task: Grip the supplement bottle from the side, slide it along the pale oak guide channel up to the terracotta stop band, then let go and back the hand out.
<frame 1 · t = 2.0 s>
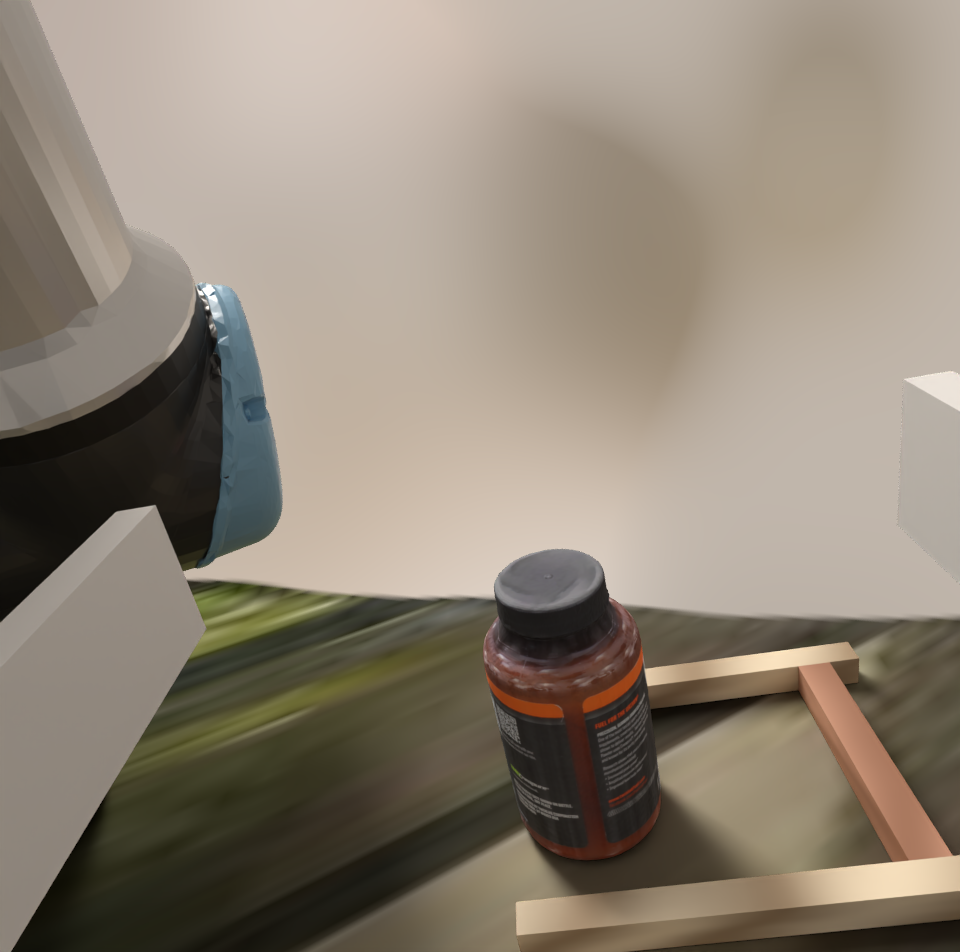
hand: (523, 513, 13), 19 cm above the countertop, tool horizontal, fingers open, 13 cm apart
guide channel: (711, 789, 30), on the countertop
supplement bottle: (590, 808, 31), on the countertop
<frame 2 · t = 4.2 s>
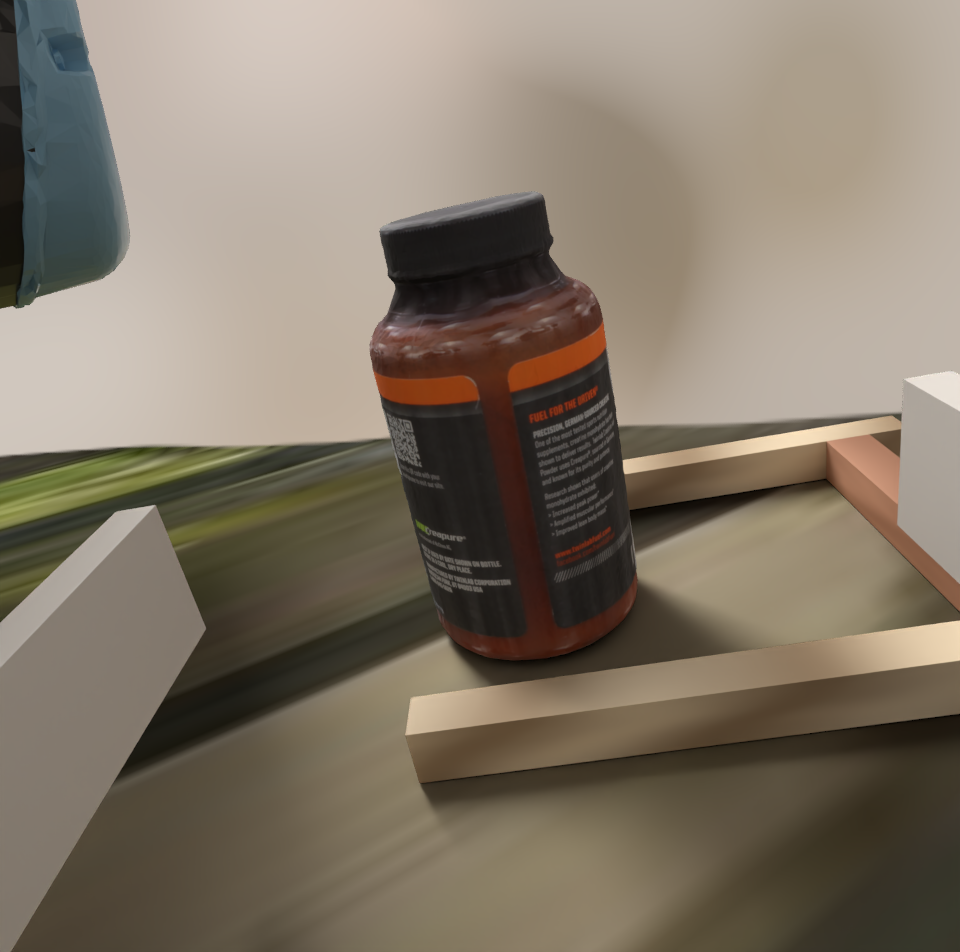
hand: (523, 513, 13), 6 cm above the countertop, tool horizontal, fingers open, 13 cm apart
guide channel: (709, 579, 21), on the countertop
supplement bottle: (539, 611, 22), on the countertop
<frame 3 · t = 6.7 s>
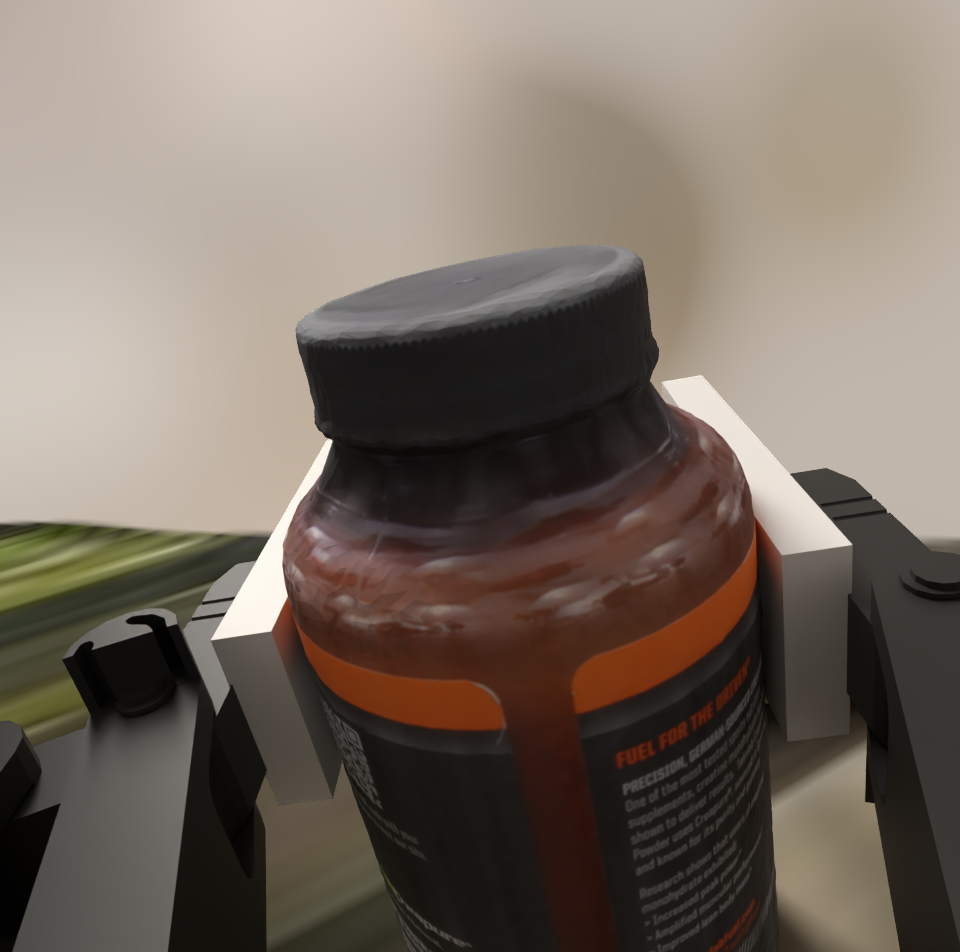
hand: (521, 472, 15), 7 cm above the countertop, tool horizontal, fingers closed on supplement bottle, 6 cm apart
supplement bottle: (594, 945, 13), on the countertop, touching gripper
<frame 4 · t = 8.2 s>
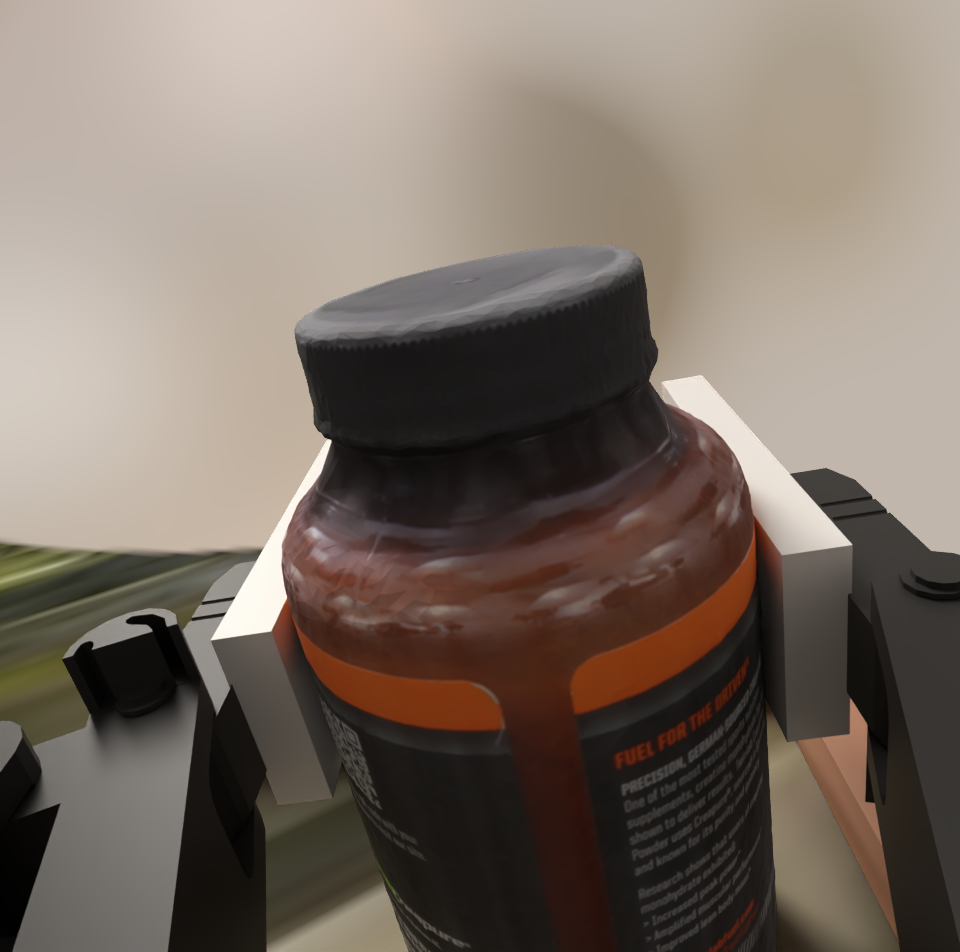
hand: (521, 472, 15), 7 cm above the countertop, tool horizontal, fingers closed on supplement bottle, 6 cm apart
guide channel: (564, 927, 13), on the countertop
supplement bottle: (594, 946, 13), on the countertop, touching gripper
when the fingers open (7 cm above the countertop, at t = 9.6 s): supplement bottle stays where it is, on the countertop.
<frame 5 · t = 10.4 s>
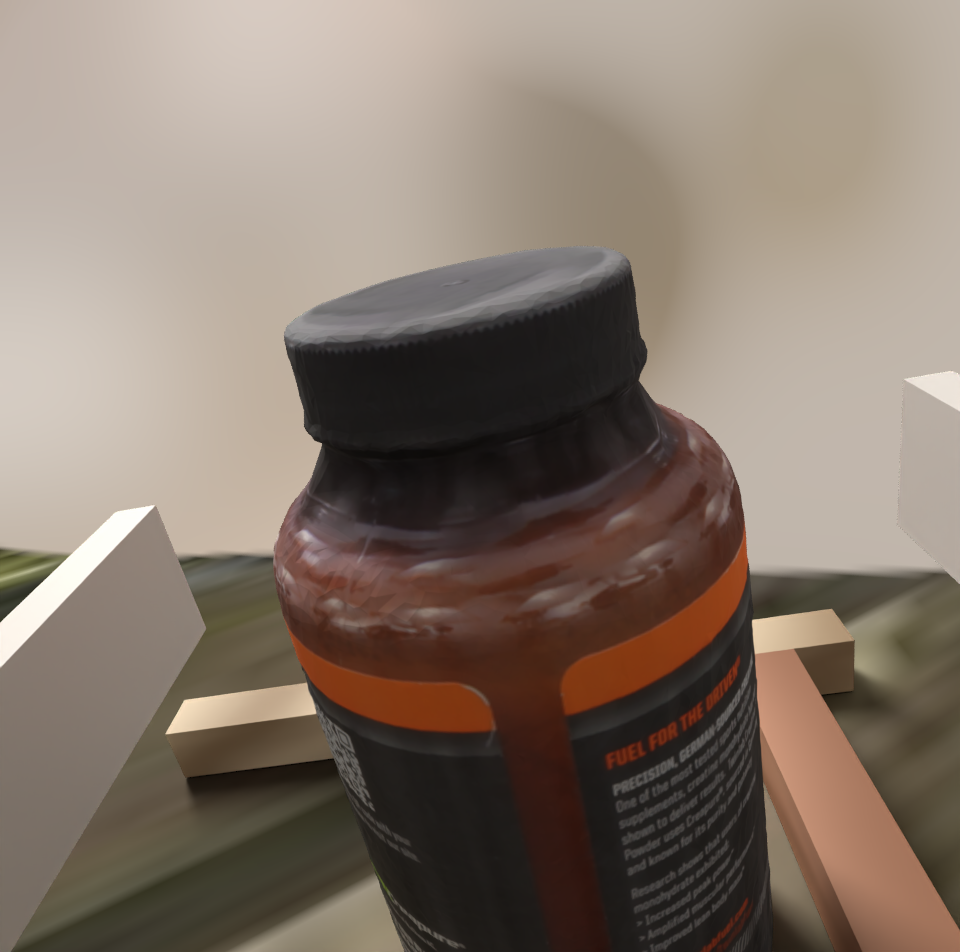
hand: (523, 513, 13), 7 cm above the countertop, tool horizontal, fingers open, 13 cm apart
guide channel: (507, 945, 13), on the countertop
supplement bottle: (591, 945, 13), on the countertop
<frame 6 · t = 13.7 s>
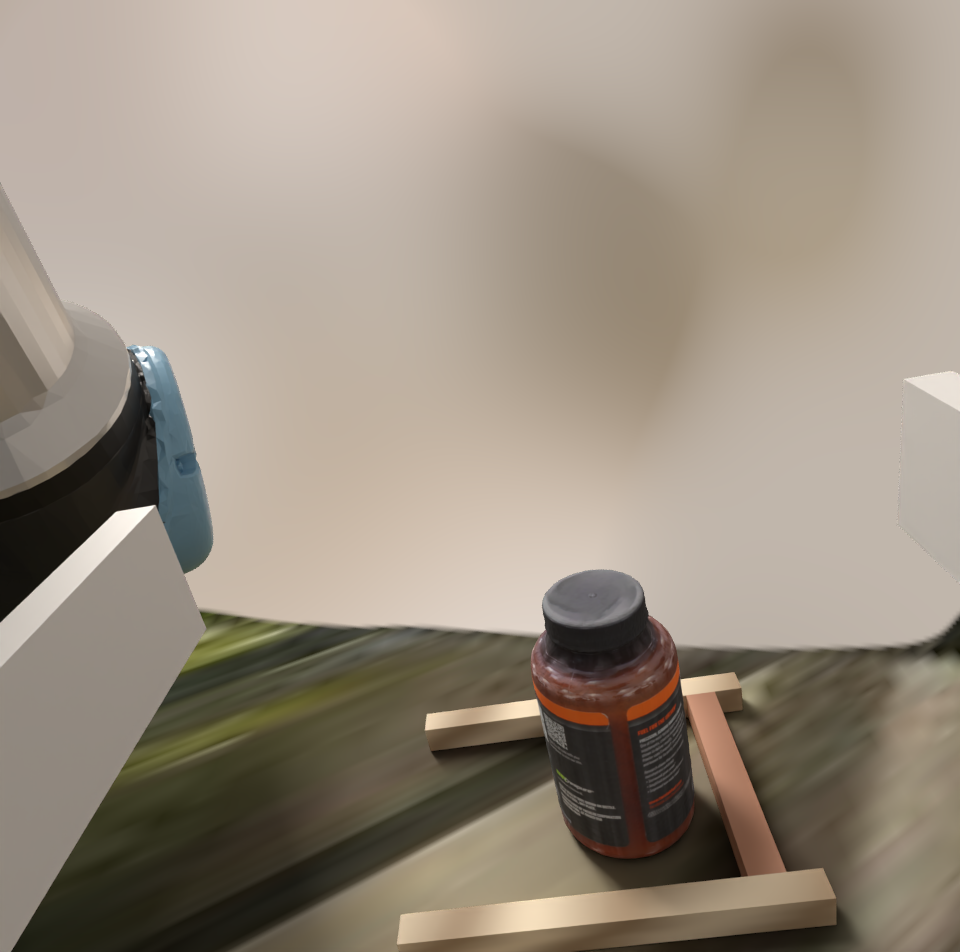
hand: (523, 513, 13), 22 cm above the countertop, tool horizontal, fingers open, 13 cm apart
guide channel: (595, 811, 33), on the countertop
supplement bottle: (627, 810, 33), on the countertop
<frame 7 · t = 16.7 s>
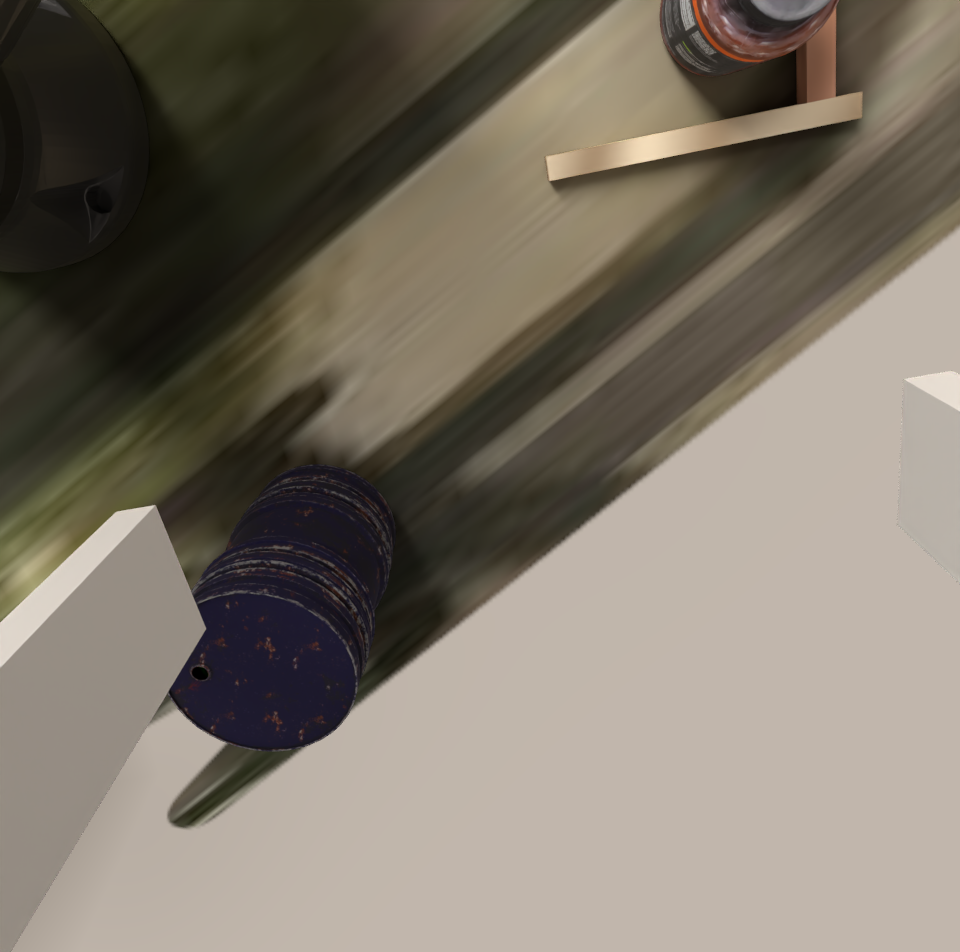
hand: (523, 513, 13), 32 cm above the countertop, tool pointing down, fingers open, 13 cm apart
guide channel: (687, 17, 37), on the countertop
storage jar: (324, 528, 50), on the countertop
supplement bottle: (715, 11, 37), on the countertop
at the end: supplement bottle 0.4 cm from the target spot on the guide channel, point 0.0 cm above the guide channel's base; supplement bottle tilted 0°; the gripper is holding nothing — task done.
